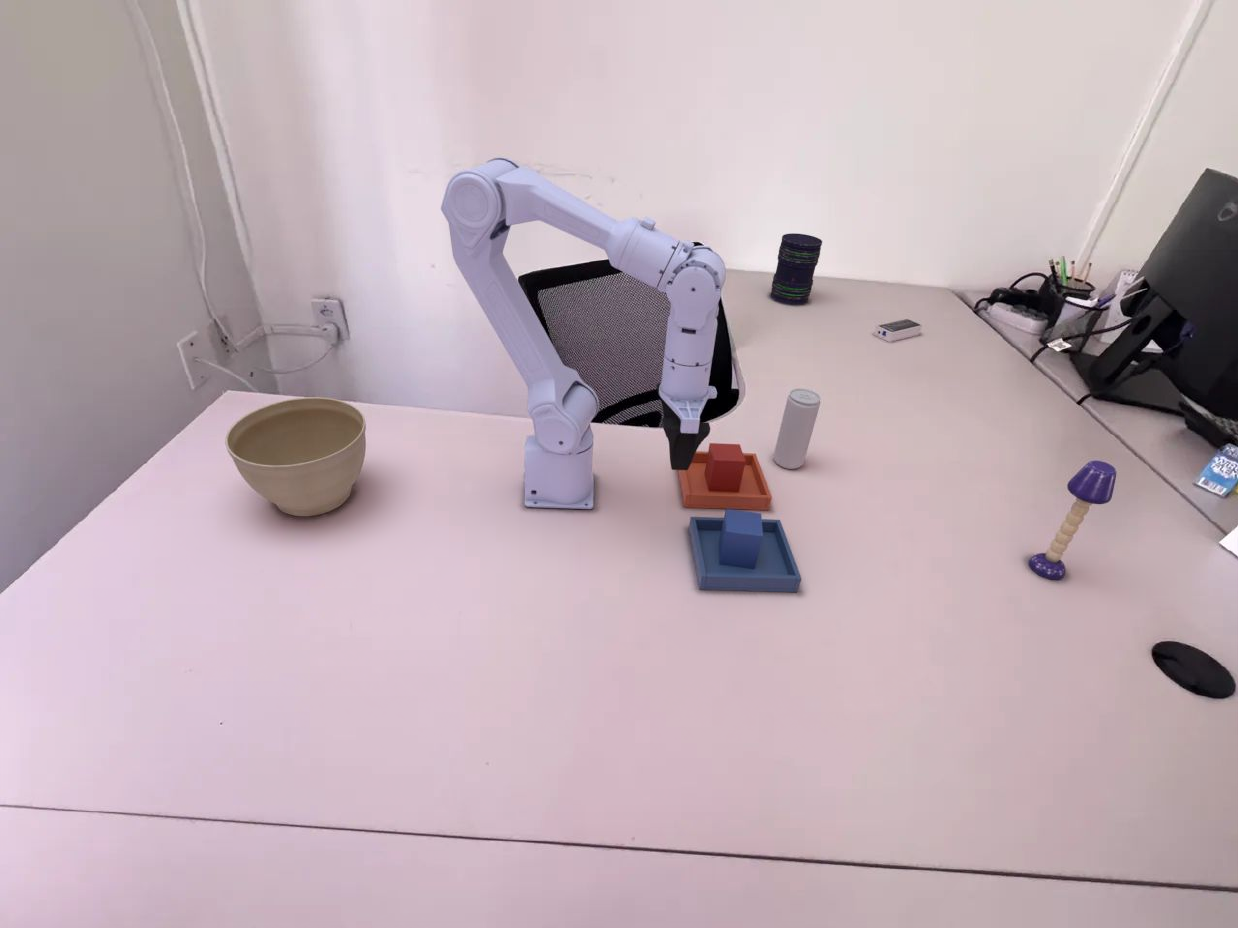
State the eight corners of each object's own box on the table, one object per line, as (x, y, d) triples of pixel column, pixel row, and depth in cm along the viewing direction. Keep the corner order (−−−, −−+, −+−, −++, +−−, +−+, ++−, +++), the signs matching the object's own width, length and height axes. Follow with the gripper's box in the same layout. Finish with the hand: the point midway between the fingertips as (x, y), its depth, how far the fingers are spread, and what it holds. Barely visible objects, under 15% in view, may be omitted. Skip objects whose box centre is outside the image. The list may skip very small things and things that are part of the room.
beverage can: (803, 472, 101) (822, 405, 95) (772, 467, 102) (789, 400, 95) (802, 456, 105) (820, 390, 99) (772, 451, 106) (788, 385, 99)
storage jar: (769, 302, 163) (782, 242, 154) (768, 289, 171) (780, 231, 163) (810, 307, 162) (824, 247, 154) (807, 294, 170) (821, 236, 162)
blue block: (719, 564, 82) (726, 531, 79) (719, 541, 86) (725, 508, 83) (754, 569, 82) (763, 536, 79) (753, 545, 86) (761, 513, 83)
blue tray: (699, 589, 79) (701, 576, 78) (688, 529, 88) (690, 516, 87) (797, 592, 80) (801, 578, 79) (776, 532, 89) (780, 519, 88)
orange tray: (684, 507, 92) (686, 494, 91) (676, 462, 101) (677, 450, 100) (768, 510, 93) (772, 497, 92) (753, 465, 102) (755, 453, 101)
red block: (708, 491, 95) (714, 460, 92) (704, 473, 99) (709, 442, 96) (738, 492, 95) (745, 461, 92) (733, 474, 99) (739, 444, 96)
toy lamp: (1048, 585, 84) (1112, 481, 75) (1016, 562, 87) (1073, 459, 78) (1070, 574, 86) (1135, 472, 77) (1038, 552, 89) (1096, 451, 80)
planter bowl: (227, 493, 88) (203, 424, 82) (340, 449, 98) (327, 385, 92) (281, 553, 79) (259, 481, 73) (399, 498, 89) (389, 431, 83)
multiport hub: (919, 334, 152) (923, 325, 151) (888, 342, 147) (892, 332, 146) (904, 327, 155) (907, 318, 154) (873, 334, 150) (876, 325, 149)
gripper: (732, 385, 71) (715, 485, 79) (712, 332, 83) (699, 423, 91) (668, 383, 71) (657, 483, 79) (657, 330, 83) (649, 422, 91)
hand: (676, 451), depth 85 cm, fingers open, 7 cm apart
